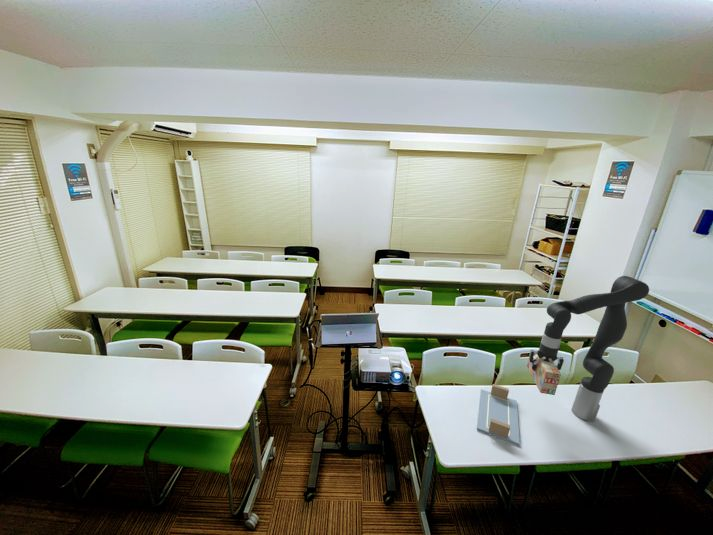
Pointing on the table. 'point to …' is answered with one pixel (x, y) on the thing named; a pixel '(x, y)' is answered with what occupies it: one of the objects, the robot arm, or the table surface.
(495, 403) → the board
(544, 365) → the stack of blocks
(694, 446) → the table surface
